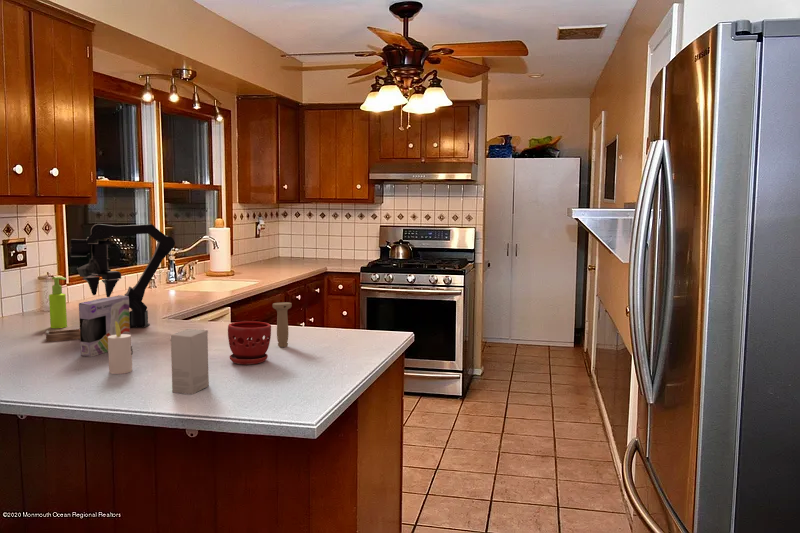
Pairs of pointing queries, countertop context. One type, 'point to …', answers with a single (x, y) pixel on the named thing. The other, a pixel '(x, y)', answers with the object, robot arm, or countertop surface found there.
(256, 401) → the countertop surface
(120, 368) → the candle
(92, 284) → the robot arm
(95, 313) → the cake pan box
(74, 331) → the track
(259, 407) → the countertop surface
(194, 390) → the skincare box
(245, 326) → the plant pot
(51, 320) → the soap dispenser
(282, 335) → the handle
